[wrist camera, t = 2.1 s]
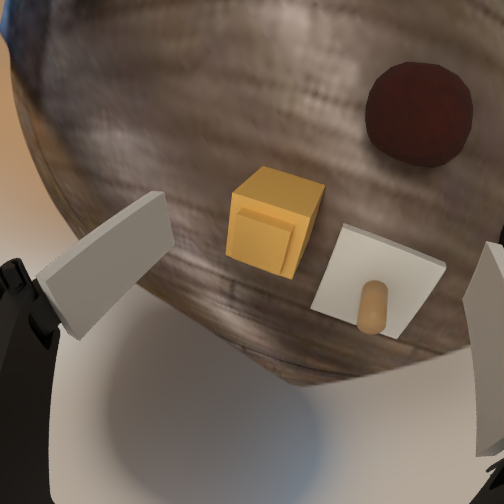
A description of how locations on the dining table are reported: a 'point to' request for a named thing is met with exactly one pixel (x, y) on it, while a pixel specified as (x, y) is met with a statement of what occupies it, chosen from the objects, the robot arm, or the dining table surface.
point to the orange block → (273, 220)
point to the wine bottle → (502, 237)
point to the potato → (419, 114)
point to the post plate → (376, 266)
